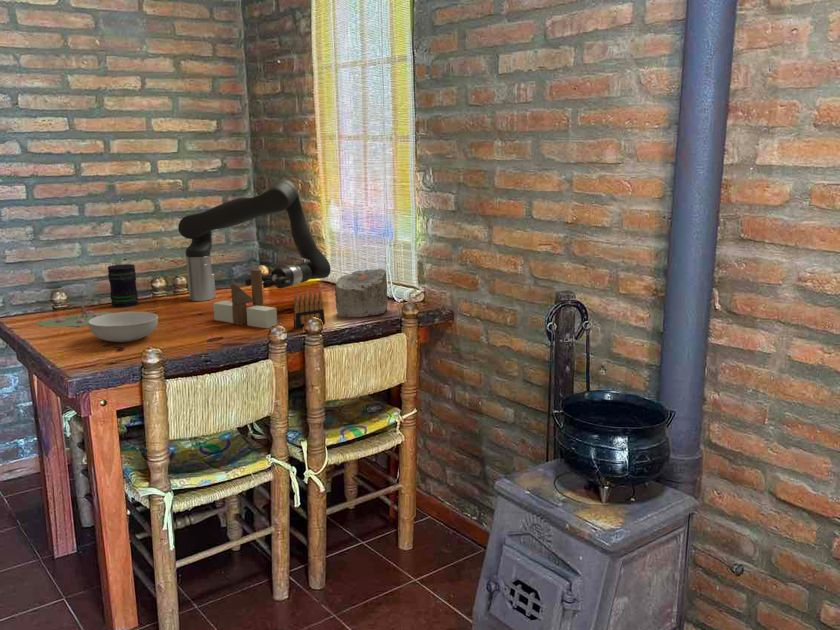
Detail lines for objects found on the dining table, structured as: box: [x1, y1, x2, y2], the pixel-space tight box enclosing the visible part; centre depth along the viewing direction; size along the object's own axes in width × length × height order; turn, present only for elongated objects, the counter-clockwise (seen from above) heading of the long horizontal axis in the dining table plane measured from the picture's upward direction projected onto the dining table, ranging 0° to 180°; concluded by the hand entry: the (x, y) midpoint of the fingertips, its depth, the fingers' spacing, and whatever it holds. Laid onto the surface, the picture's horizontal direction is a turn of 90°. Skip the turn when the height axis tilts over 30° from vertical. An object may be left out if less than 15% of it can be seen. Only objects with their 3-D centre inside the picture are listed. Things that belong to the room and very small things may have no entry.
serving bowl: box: [88, 311, 159, 343], centre depth 254 cm, size 21×21×7 cm
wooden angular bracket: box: [230, 268, 264, 326], centre depth 272 cm, size 4×11×18 cm, turn 129°
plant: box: [34, 295, 112, 328], centre depth 280 cm, size 25×21×9 cm
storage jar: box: [107, 258, 139, 309], centre depth 303 cm, size 10×10×18 cm
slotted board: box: [212, 300, 278, 329], centre depth 273 cm, size 5×25×6 cm, turn 57°
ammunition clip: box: [293, 288, 326, 329], centre depth 267 cm, size 11×2×12 cm, turn 123°
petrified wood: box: [334, 268, 389, 318], centre depth 284 cm, size 19×17×15 cm
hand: (254, 283), depth 275 cm, fingers open, 8 cm apart
